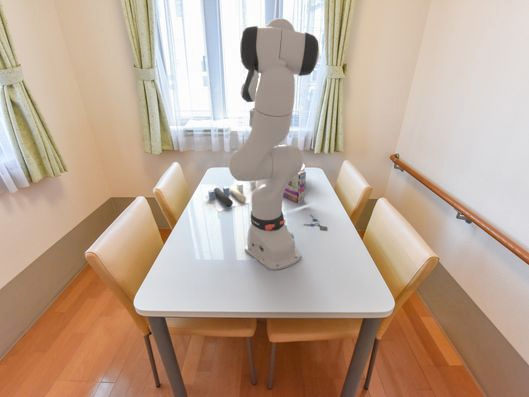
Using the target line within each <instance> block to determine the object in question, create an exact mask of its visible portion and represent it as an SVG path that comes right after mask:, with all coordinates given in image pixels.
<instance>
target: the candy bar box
mask: <svg viewBox="0 0 529 397" xmlns="http://www.w3.org/2000/svg"><path fill="white" fill-rule="evenodd" d="M306 175H307V172H306V171H305V170H304V171H301V170H300V172H298V173H297V174H296V175H295V176H294V177H293V178H292V179H291V180H290V182H289V183H288V185H287V187H286V189H285V191H284V194H283V198H286V199H288V200H290V201H292V202H293V203H296V204H299V203H301V202H304V201H305V200H304V199H305V187H306Z"/></svg>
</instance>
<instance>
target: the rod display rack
mask: <svg viewBox="0 0 529 397" xmlns="http://www.w3.org/2000/svg"><path fill="white" fill-rule="evenodd" d="M229 187H230V186H223V187H222V192H223V193H224V194H225V195H226V196H227V197H229V198H230V199H231V200H232V201H233V204H232V206H230V207H227V206H226V205H225V204H224V203H223V202H222V201H221V200H220V199H219V198H218V197H217V196H216V195H215V191H214V189H210V190H208V195H207V196H205V198H206V199H207V200H208V202H209V203H210V204H211V205H213V207H214V208H215V209H216V210H217V211H218V212H223V211H225V210H229V209H233V208H236V207H241V206H244V205H247V204H252V200H251V196H252V193H253V191H254V189H255V188H257V184H256V181H251V182H250V181H249V185H245V186H244V184H243V183H242V182H240V183H237V184H236V188H235V189H236V190H238V191H239V192H240V193H241V194H242V195H244V196H245V197H246V201H245V202H241V201H240V200H238V199H237V198H236V197H235V196H234V195H233V194H232V193H231V192H230V191H229Z"/></svg>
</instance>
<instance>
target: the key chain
mask: <svg viewBox="0 0 529 397" xmlns="http://www.w3.org/2000/svg"><path fill="white" fill-rule="evenodd" d="M310 217H311V218H312V223H303V226H310V227H314V226H316V227H319V231H325V232H328V230H329V229H328V226H327V225H326V226H324V225H321V224H320V222H319V220H318V219H317V218H315V217H314V216H313V215H312V214H310ZM314 222H315V223H314Z"/></svg>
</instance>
